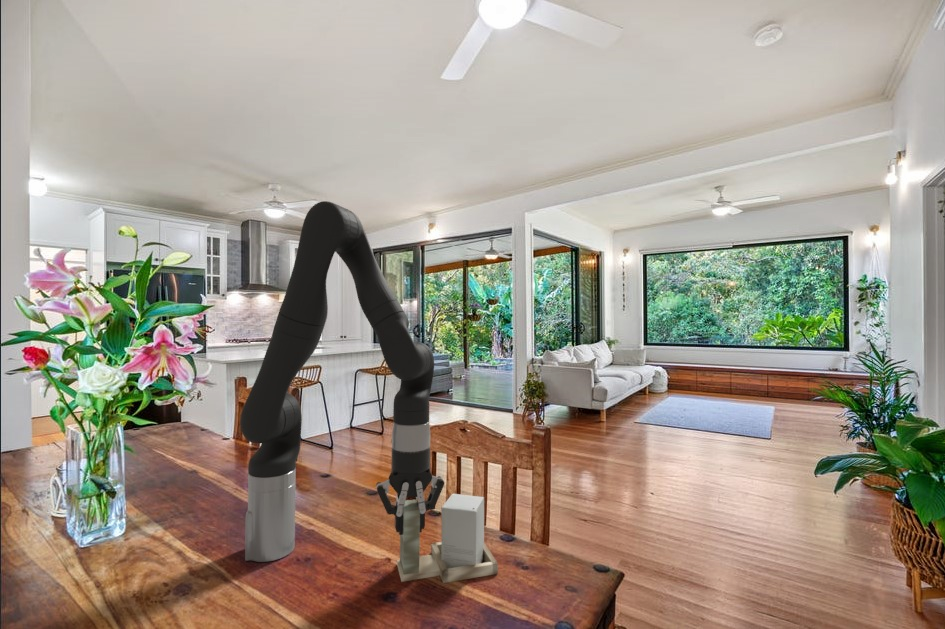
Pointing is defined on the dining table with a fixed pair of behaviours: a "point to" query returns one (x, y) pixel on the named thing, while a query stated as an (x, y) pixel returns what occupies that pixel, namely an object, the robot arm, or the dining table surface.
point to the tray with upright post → (433, 554)
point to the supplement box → (462, 530)
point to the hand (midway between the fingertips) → (409, 531)
